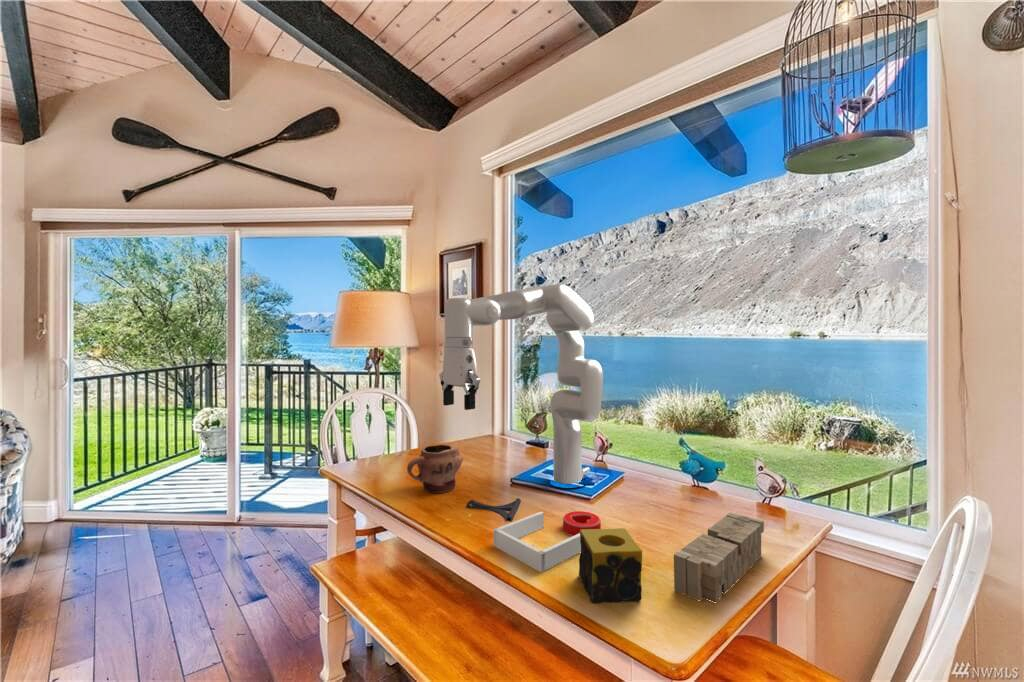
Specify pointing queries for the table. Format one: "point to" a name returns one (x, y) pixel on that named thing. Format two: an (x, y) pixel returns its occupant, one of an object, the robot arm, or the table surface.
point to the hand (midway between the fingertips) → (458, 407)
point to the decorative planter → (437, 467)
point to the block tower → (718, 557)
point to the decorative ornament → (580, 522)
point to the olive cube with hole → (610, 565)
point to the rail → (528, 554)
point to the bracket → (498, 508)
